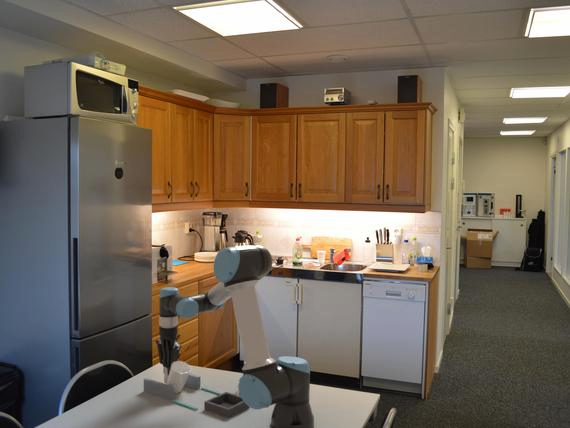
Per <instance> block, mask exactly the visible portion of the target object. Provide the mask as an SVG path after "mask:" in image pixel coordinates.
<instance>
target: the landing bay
mask: <svg viewBox="0 0 570 428" xmlns="http://www.w3.org/2000/svg"><path fill="white" fill-rule="evenodd" d="M200 389H201V390H203V391H206V392H209V393H212V394H215V395H217V396H218V395H220V394H222V392H219V391H218V390H217V391H216V390H214V389H211V388H208V387H204V386H201V387H200ZM171 402H172V403H174V404H176V405H179V406H183V407H185V408H188V409H191V410H194V411H197V410H199V408H198V407H196V406H193V405H191V404H187V403H185V402H182V401H179V400H176V399H174V400H171Z"/></svg>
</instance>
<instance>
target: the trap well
mask: <svg viewBox="0 0 570 428" xmlns="http://www.w3.org/2000/svg"><path fill="white" fill-rule="evenodd" d="M221 393H222V392H221ZM203 403H204V404H203V405H204V407H203V408H204V410H205V411H207V412H211V413H213V414H216V415H219V416H222V417H224V418H228V419H230V418H231V417H233V416H235V415H237V414H239V413H241V412H243V411H244V410H247V409H249V408H250V407H249V406H248V405H247V404H246V403H245V402H244V401H243V399H242V398H241V396H240V395H239V394H235V393H231V392H228V391H225V392H223V393H222V394H220V395H218V394H217V395H215V396H213V397H211V398H210V399H207V400H205V401H204V402H203Z"/></svg>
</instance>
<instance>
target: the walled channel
mask: <svg viewBox="0 0 570 428" xmlns="http://www.w3.org/2000/svg"><path fill="white" fill-rule="evenodd" d="M184 386H186V387H190V388H192V389H195V390H199V389H201V376H200V375H197V374H194V373H191V372H190V373H189V375H188V378H187V380H186V383H185V385H184ZM143 392H144V393H148V394H151V395H152V396H153V395H154V396H157V397H159V398H162V399H165V400H168V401H171V402H172V400H175V399H174V398H175V396H174V394H175V392H174V387H173V386H170V385H167V383H163V382H162V381H161V382H160V381H157V380H155V379H151V378H149V377H145V378H143Z"/></svg>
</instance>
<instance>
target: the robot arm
mask: <svg viewBox="0 0 570 428" xmlns="http://www.w3.org/2000/svg"><path fill="white" fill-rule="evenodd" d="M273 262H274V261H273V256H272V254H271V252H270V251H269V249H267V248H266V247H265V246H263V245H259V244H251V245H235V246H234V245H233V246H230V247H224V248H222V249H220V250H219V251H218V252H217V254H216V255H215V258H214V260H213V273H214V277H215V279H216V280H217V281H218V283H217V284H216V285H214V286H213V287H212V288H210V290H207V291H206V292H204V293H200V294H194V295H188V296H187V295H186V296H183V295H182V296H181V295H179V294H180V292H179V289H178V288H177V287H175V286H172V287H171V286H168V287H163V288H160V290H159V297H158V299H159V301H158V305H159V313H158V314H159V317H158V319H159V321H158V325H159V327H158V335H159V339H156V340H155V344H156V347H157V352H158V358H159V359H158V360H159V364H160V365H162V367H163V374H164V375H163V382H164V384H167V381H168V376H169V372H170V368H171V365H172V363H173V362H175V361H179V360H178V358H179V354H180V349H181V348H182V345H181V344H179V343H178V339H177V336H178V334H179V326H178V325H179V317H180V318H183V319H192V318H194V317H195V316H197V315H198V314H199V315H200V314H203V313H207V312H215V311H218V310H221V309H222V308H224V305H225V302H226V301H228V300H230V299H231V302H232V307H233V312H234V317H235V321H236V325H237V331H238V335H239V338H240V339H239V340H240V345H241V348H242V352H243V357H244V359H243V360H244V361H245V365H244V364H243V367H242V368H241V370H242V376H241V377H240V378H239V380H238V381H239V382H238V393H239V396H241V398H242V399H243V401H244V402H245V403H246V404H247V405H248V406H249V408H250V409H253V410H261V409H265V408H269V407H271V406H272V405H274V408H273V410H272V414H271V416H270V425H271V427H272V428H314V426H315V416H314V414H313V411H312V407H311V404H310V389H311V388H310V384H311V383H310V382H311V369H310V363H309V361H308V360H307V359H304V358H301V357H297V356H289V355H288V356H287V355H286V356H285V355H283V356H279V357H277V358H276V359H275V358H273V357H271V354H270V350H269V345H268V340H267V336H266V332H265V327H264V322H263V319H262V314H261V308H260V305H259V301H258V295H257V291H256V288H255V287H256V286H257V283H258V281H260V280H262V279H263V278H264V277H265V276H266V275H268V274H269V273H270V272H271V269H272V268H273Z"/></svg>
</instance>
